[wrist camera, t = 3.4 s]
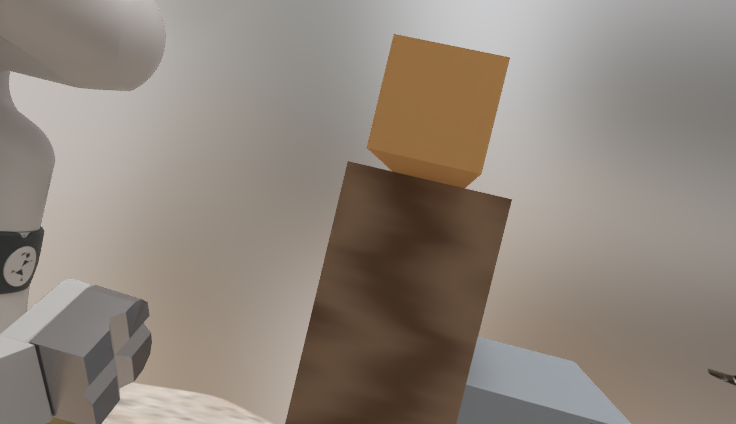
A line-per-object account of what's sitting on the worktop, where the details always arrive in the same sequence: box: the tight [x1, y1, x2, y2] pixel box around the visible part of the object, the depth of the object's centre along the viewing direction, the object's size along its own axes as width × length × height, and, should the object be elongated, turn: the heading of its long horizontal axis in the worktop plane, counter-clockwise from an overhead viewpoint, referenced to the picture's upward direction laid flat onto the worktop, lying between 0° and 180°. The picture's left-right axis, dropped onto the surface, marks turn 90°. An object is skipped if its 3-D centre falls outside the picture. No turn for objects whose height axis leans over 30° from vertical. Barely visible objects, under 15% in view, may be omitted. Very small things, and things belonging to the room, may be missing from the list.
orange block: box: [367, 34, 510, 188], centre depth 28 cm, size 4×24×4 cm, turn 172°
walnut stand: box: [285, 162, 512, 424], centre depth 33 cm, size 8×12×26 cm, turn 172°
